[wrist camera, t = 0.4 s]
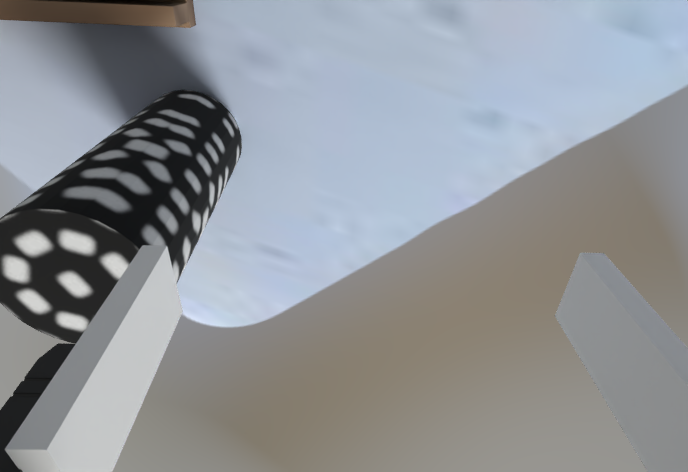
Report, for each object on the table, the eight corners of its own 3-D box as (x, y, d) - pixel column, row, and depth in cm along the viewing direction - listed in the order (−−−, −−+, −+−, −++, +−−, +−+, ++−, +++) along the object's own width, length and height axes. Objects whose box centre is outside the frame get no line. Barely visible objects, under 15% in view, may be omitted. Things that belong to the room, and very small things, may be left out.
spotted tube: (123, 114, 36) (-64, 249, 19) (206, 72, 34) (80, 179, 18) (182, 195, 40) (69, 363, 24) (259, 161, 39) (198, 316, 22)
